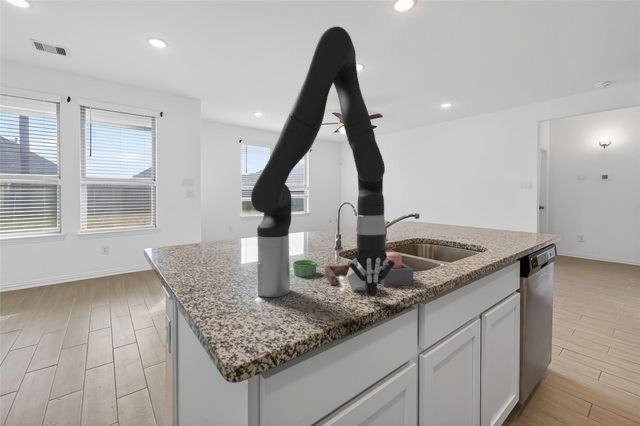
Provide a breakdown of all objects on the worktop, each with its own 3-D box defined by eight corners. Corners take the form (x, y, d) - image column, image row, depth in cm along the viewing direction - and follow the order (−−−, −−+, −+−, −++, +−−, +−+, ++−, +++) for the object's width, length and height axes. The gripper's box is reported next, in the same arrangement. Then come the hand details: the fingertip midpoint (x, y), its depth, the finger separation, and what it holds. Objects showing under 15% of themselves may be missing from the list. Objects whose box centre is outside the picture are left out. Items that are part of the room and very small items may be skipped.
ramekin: (299, 279, 97) (299, 266, 97) (289, 273, 105) (288, 261, 105) (321, 275, 102) (321, 263, 101) (310, 269, 109) (309, 258, 109)
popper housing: (383, 286, 88) (383, 270, 88) (372, 277, 98) (372, 263, 97) (413, 284, 89) (413, 269, 89) (399, 275, 99) (399, 261, 99)
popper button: (387, 273, 90) (387, 256, 90) (380, 268, 96) (380, 252, 96) (404, 272, 91) (404, 255, 91) (396, 267, 97) (397, 251, 96)
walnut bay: (331, 285, 89) (331, 276, 89) (324, 273, 103) (324, 265, 103) (379, 282, 92) (379, 273, 92) (366, 271, 105) (366, 263, 105)
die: (367, 298, 80) (382, 269, 82) (341, 282, 81) (356, 254, 83) (362, 298, 88) (376, 271, 90) (339, 284, 89) (353, 258, 91)
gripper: (350, 234, 70) (351, 302, 71) (400, 232, 72) (400, 298, 73) (343, 231, 77) (344, 292, 78) (388, 229, 79) (388, 289, 80)
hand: (371, 295), depth 76 cm, fingers closed
